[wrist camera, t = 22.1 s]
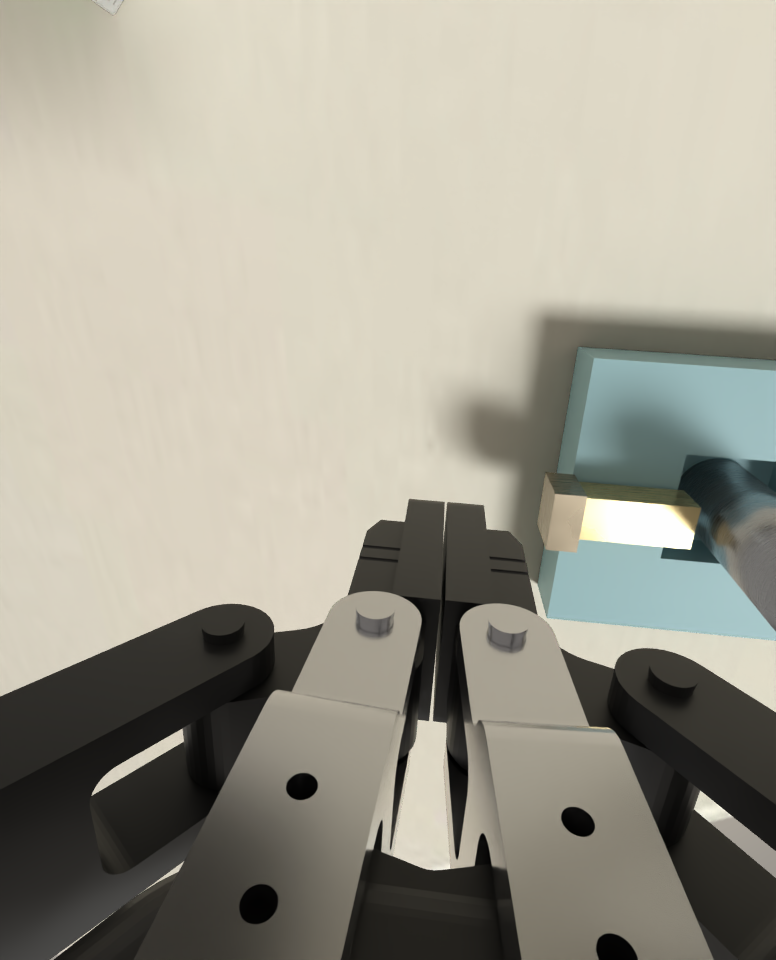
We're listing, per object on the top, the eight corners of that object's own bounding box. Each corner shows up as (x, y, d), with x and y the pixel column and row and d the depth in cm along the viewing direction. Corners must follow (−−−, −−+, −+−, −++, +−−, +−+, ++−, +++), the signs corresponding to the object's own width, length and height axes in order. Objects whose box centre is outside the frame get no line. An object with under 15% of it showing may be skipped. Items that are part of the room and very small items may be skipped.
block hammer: (545, 472, 33) (555, 493, 30) (685, 483, 32) (709, 507, 29) (537, 523, 34) (545, 549, 31) (672, 535, 33) (694, 563, 30)
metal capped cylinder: (690, 450, 35) (809, 555, 23) (765, 468, 35) (925, 583, 22) (662, 516, 36) (759, 647, 24) (733, 533, 36) (867, 674, 24)
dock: (578, 346, 34) (593, 358, 31) (903, 368, 33) (960, 383, 29) (537, 584, 40) (547, 618, 36) (812, 610, 39) (851, 648, 35)
